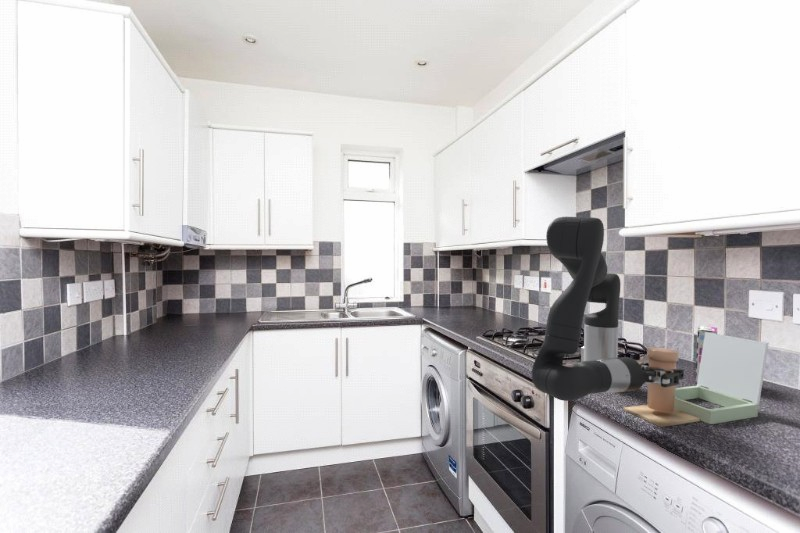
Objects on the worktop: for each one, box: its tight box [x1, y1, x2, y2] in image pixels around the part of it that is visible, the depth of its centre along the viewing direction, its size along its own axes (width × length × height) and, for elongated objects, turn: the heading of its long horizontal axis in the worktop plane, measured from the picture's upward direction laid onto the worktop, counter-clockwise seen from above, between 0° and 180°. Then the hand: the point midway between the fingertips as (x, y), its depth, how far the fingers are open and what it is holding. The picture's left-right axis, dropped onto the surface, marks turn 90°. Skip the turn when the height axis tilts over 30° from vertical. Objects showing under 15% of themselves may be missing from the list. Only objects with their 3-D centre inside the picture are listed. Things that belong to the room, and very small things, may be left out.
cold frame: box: [674, 385, 759, 425], centre depth 97 cm, size 14×16×3 cm
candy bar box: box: [694, 325, 718, 383], centre depth 121 cm, size 11×5×16 cm, turn 141°
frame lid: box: [696, 332, 769, 405], centre depth 100 cm, size 14×3×15 cm, turn 18°
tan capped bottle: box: [646, 346, 679, 413], centre depth 92 cm, size 6×6×14 cm
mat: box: [623, 404, 701, 428], centre depth 93 cm, size 10×12×1 cm
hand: (669, 370), depth 93 cm, fingers closed on tan capped bottle, 5 cm apart
